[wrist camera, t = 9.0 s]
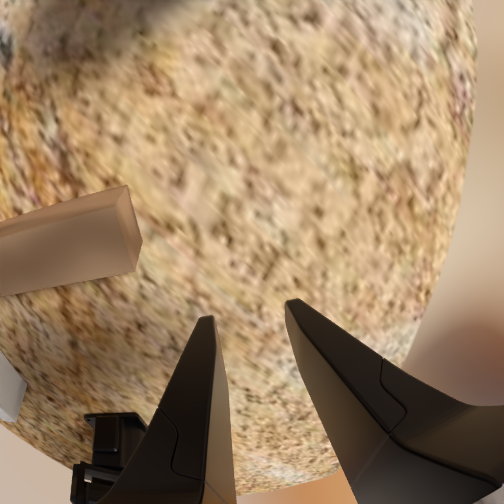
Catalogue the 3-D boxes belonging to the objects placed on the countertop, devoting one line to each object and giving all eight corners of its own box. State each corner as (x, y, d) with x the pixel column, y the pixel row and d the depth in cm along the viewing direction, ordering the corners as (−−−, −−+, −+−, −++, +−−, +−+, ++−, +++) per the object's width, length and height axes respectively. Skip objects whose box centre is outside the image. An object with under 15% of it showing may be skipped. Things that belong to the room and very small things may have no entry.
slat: (143, 238, 18) (134, 271, 15) (-16, 275, 17) (-37, 304, 14) (128, 183, 16) (114, 206, 13) (-34, 233, 15) (-60, 259, 12)
